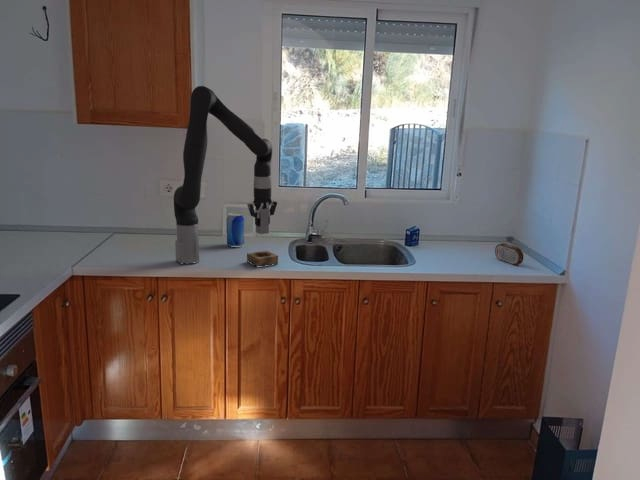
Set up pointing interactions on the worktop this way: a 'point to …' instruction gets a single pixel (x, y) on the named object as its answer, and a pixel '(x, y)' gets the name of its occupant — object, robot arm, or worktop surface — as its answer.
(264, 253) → the wooden square frame
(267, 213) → the peg
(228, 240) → the beer can
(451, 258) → the worktop surface
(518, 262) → the tin
